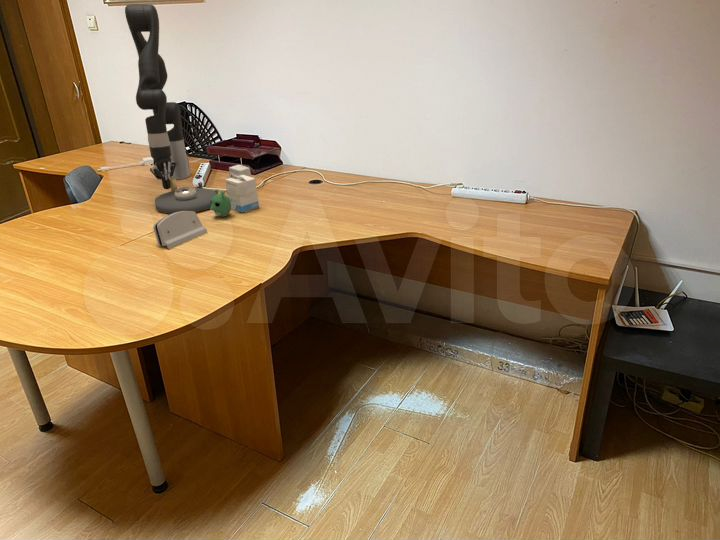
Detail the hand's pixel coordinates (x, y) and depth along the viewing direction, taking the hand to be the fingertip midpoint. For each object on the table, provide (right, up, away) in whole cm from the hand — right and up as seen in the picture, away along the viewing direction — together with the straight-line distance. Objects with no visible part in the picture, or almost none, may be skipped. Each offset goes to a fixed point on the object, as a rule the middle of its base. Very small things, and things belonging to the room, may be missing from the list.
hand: (167, 188), depth 200 cm
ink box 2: (+32, -9, -6) cm, 34 cm away
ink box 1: (+28, -2, +9) cm, 29 cm away
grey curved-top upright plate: (+17, -22, -33) cm, 43 cm away
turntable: (+9, -6, -2) cm, 11 cm away
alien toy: (+26, -13, -14) cm, 32 cm away
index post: (+10, 0, +11) cm, 15 cm away
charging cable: (-37, +19, +53) cm, 68 cm away
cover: (+9, -4, -3) cm, 10 cm away
